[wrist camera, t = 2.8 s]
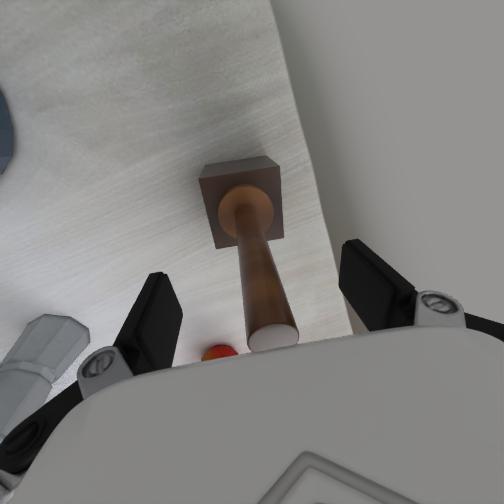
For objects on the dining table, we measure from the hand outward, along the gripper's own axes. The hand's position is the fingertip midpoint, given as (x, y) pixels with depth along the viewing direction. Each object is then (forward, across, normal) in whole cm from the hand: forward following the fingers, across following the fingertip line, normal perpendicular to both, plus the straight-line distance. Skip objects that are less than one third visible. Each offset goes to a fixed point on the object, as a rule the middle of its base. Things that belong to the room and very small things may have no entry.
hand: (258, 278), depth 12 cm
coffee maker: (+17, +32, +19) cm, 41 cm away
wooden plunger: (+10, 0, 0) cm, 10 cm away
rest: (+17, 0, 0) cm, 17 cm away
